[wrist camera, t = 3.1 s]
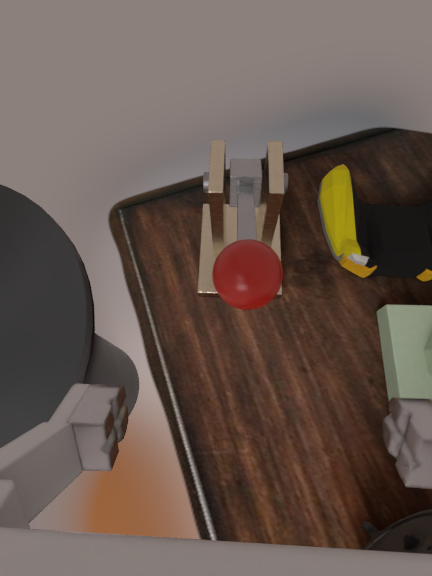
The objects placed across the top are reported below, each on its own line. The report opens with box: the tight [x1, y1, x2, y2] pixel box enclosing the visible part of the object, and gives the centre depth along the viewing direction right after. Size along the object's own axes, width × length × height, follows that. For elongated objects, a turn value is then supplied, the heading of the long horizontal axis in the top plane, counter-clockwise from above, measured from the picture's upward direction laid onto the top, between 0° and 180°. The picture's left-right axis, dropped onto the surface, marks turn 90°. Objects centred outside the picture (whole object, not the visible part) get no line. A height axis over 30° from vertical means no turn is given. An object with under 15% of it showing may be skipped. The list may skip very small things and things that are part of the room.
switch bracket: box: [198, 141, 288, 299], centre depth 29 cm, size 10×8×13 cm
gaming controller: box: [318, 164, 432, 282], centre depth 32 cm, size 15×6×10 cm
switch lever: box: [212, 159, 283, 310], centre depth 21 cm, size 13×4×4 cm, turn 178°
